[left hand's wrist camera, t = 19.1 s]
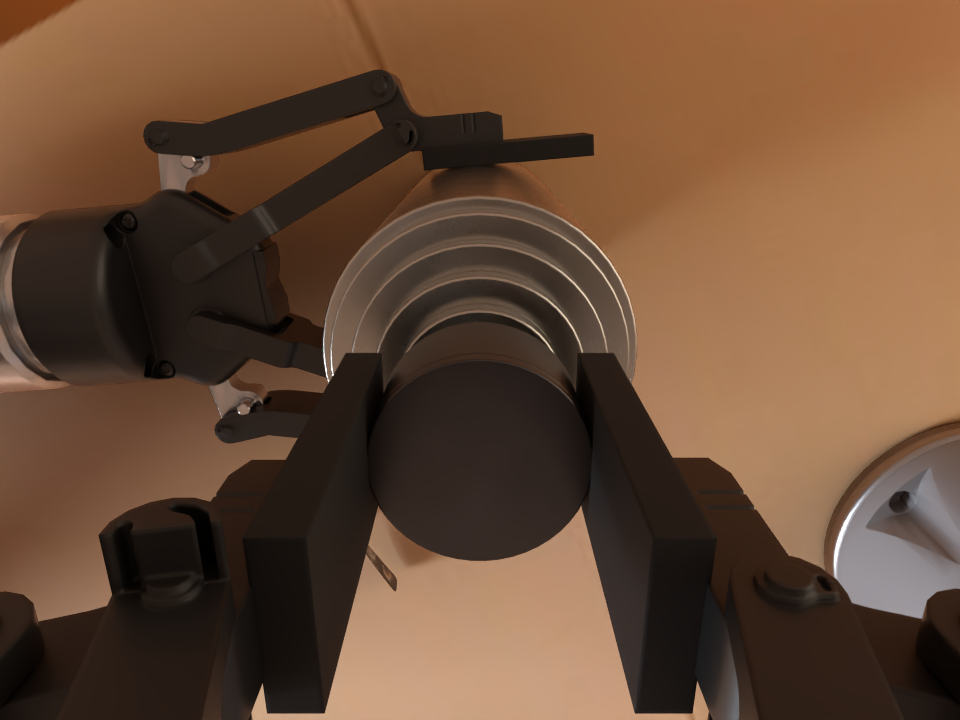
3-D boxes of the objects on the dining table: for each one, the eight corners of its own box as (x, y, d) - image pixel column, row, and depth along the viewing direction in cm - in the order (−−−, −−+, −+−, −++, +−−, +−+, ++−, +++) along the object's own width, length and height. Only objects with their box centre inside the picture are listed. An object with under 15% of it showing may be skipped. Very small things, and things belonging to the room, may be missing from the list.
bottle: (568, 305, 36) (704, 603, 14) (413, 326, 36) (313, 646, 14) (552, 142, 33) (693, 199, 11) (385, 167, 33) (207, 266, 12)
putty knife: (326, 476, 39) (319, 491, 38) (407, 571, 41) (404, 589, 40) (312, 484, 39) (305, 500, 38) (393, 578, 42) (390, 597, 40)
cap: (347, 371, 14) (323, 416, 12) (529, 288, 13) (539, 320, 11) (436, 524, 15) (428, 590, 13) (605, 456, 15) (627, 513, 13)
